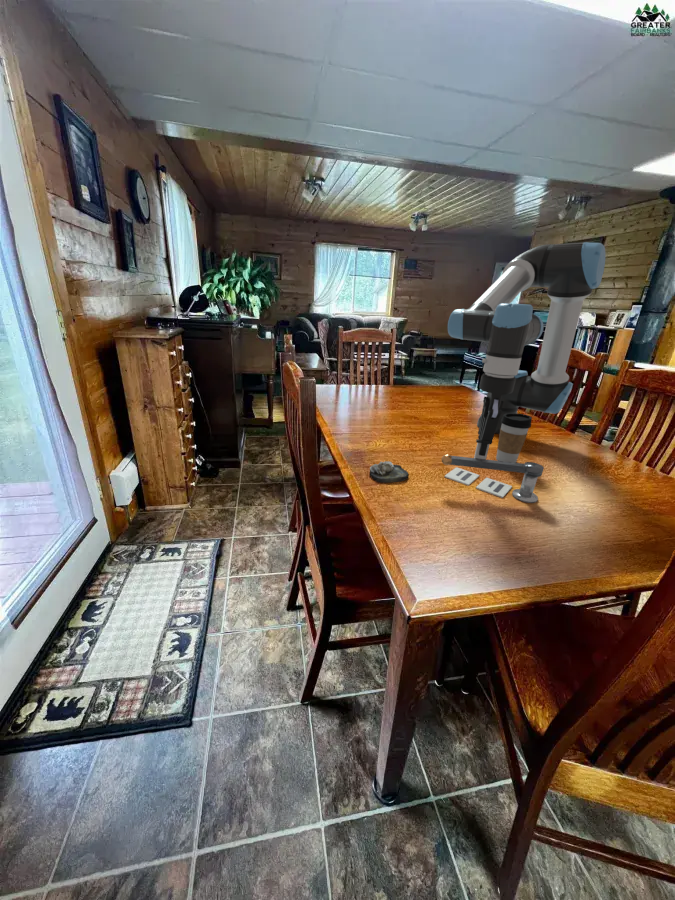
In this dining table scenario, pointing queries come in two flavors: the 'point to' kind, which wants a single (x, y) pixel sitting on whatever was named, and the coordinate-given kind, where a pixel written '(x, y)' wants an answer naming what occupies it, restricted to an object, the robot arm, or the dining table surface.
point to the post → (526, 490)
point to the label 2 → (494, 487)
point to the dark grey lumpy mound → (388, 472)
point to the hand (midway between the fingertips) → (478, 464)
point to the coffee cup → (512, 436)
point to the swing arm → (495, 465)
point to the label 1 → (462, 476)
